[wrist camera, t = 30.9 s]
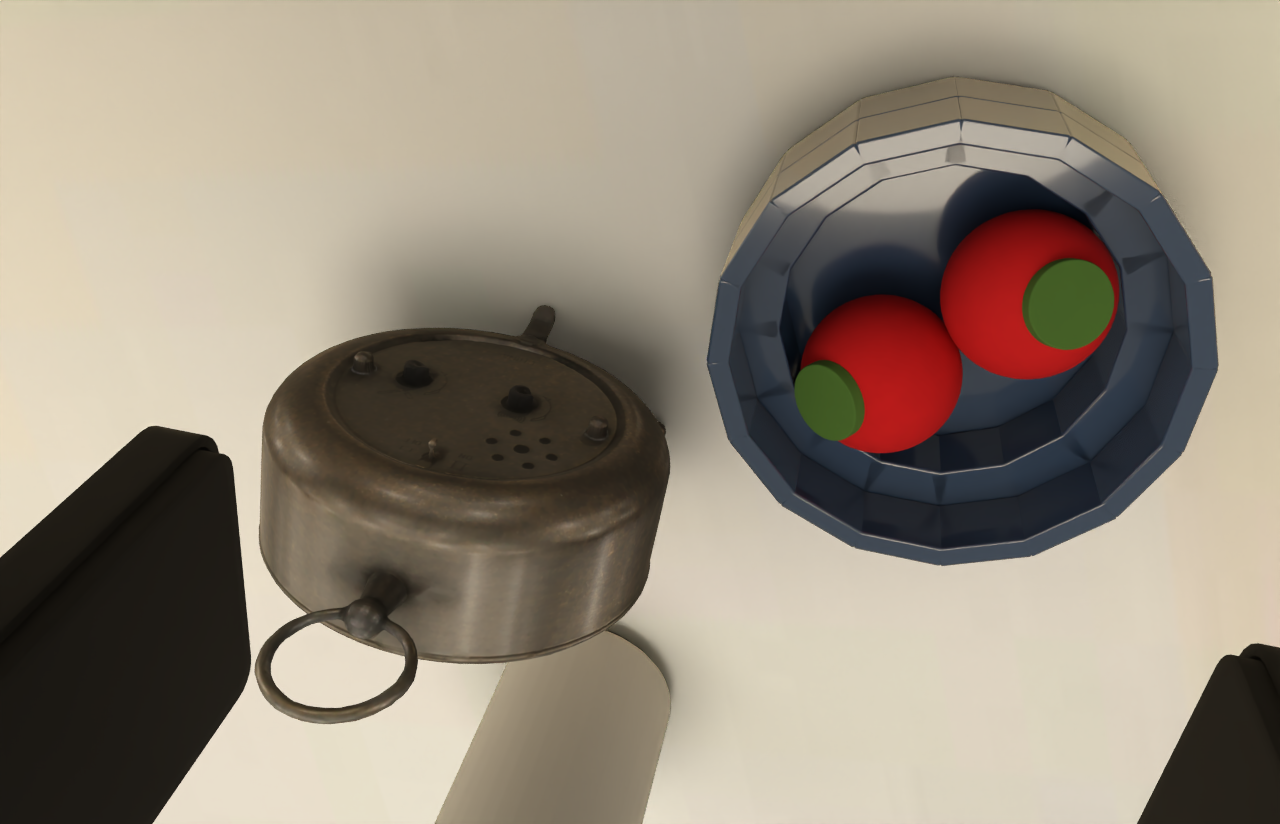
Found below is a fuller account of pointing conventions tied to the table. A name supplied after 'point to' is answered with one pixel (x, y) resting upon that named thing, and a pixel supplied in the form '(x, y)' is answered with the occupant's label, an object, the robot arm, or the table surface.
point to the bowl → (913, 268)
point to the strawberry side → (1029, 294)
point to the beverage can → (566, 740)
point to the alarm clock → (456, 499)
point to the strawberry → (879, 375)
